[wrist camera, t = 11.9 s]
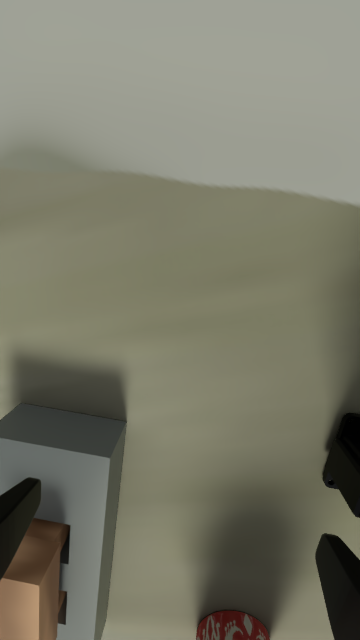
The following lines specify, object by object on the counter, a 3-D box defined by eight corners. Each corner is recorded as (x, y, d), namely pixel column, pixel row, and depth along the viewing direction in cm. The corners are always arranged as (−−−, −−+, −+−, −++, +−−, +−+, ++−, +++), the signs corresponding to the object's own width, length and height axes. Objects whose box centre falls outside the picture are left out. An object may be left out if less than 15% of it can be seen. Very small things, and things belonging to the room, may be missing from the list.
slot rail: (126, 421, 22) (110, 458, 18) (105, 619, 28) (90, 679, 24) (21, 402, 22) (-18, 434, 18) (23, 602, 28) (-6, 657, 24)
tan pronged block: (84, 493, 23) (39, 585, 16) (79, 577, 25) (38, 685, 19) (45, 485, 23) (-16, 574, 16) (43, 569, 25) (-9, 674, 19)
